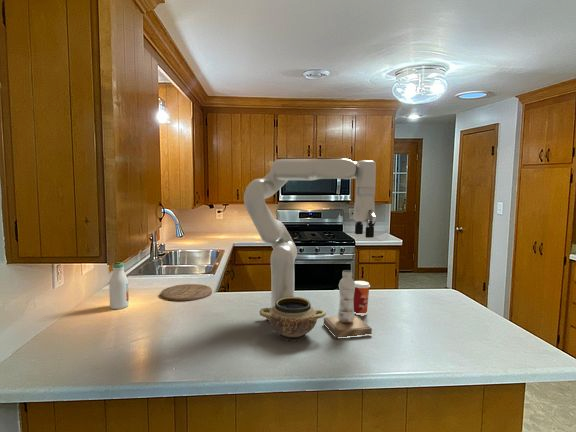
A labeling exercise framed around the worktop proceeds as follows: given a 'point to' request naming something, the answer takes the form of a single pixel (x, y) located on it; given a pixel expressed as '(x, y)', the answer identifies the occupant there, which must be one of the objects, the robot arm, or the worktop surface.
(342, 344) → the worktop surface
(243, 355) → the worktop surface
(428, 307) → the worktop surface
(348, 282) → the plastic bottle
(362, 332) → the plinth
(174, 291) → the trivet
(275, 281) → the robot arm
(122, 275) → the milk bottle
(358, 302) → the paper cup
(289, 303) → the ceramic bowl
